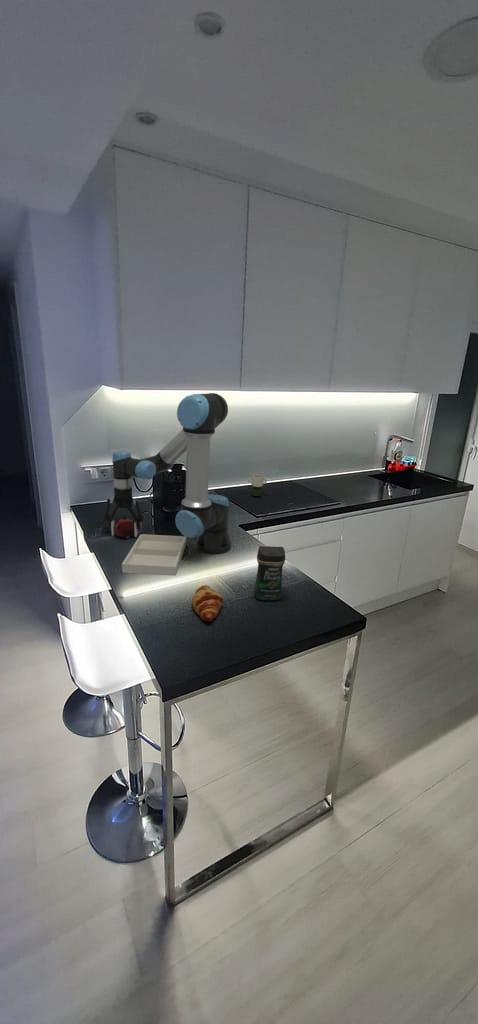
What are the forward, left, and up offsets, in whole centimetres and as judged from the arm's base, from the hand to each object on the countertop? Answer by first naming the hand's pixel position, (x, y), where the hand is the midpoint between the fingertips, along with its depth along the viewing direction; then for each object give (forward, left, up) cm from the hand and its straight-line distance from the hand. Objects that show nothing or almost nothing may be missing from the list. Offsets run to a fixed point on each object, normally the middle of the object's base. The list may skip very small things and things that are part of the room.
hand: (124, 535), depth 191 cm
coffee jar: (-62, +45, -1) cm, 77 cm away
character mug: (-60, -71, -1) cm, 93 cm away
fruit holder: (-18, +19, -1) cm, 26 cm away
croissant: (-42, +54, -1) cm, 68 cm away
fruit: (0, 0, -1) cm, 1 cm away
